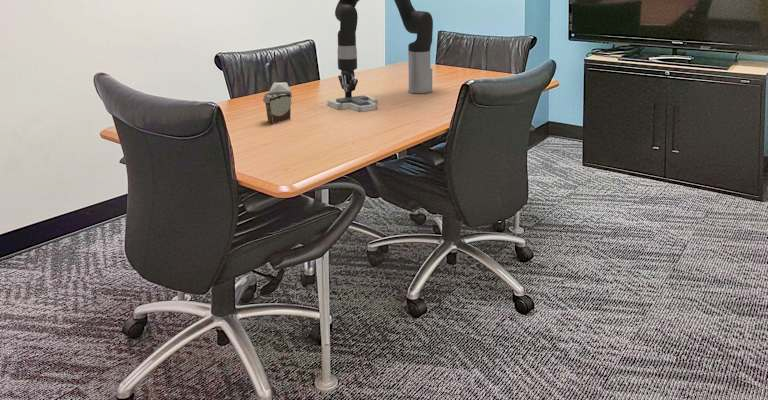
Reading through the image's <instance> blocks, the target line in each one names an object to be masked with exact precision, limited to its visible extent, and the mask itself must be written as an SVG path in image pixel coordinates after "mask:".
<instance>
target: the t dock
mask: <svg viewBox="0 0 768 400" xmlns="http://www.w3.org/2000/svg"><path fill="white" fill-rule="evenodd" d="M364 96H367V97H368V100H366V101H369V105H364V106H358V105H356V104H353V103H343V104H340V103H338V102H336V101H334V100H332V99H328V100H327V106H328V107H330V108H334V109H336V110H338V111H341V110H347V109H350V110H352V111H355V112H358V113H362V112H368V111H377V110H379V109H378V102H379V101H378V100H379V99H377V98H374V97H371V96H369V95H367V94H365V95H364Z"/></svg>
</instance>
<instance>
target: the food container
mask: <svg viewBox="0 0 768 400" xmlns="http://www.w3.org/2000/svg"><path fill="white" fill-rule="evenodd" d="M291 93H292V91H291V92H289V91H279V92H270V93H269V92H267V93H265V94H264V95H263V99H262V101H263V102H264V103H265V110H266V116H267V123H268V124H269V123H270V124H269V125H275V124H276V123H277V124H280V123H282V122H286V121H290V120H291V116H292V114H291V113H292V111H291V108H292V107H291V106H292V103H291V101H292V100H291V99H292V98H293V94H292V95H291ZM277 124H276V125H277Z"/></svg>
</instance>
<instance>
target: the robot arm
mask: <svg viewBox="0 0 768 400" xmlns="http://www.w3.org/2000/svg"><path fill="white" fill-rule="evenodd" d="M393 1H394V3H395V6H396V8H397V11H398V13H399V16H400V19H401V22H402V24H403V27H404V29H405V31H406V32H408V33H409V34H414V35H416V39H415V40H414V41H412V42H409V44H408V45H407V46H408V48H407V50H408V52H407V53H408V54H407V55H408V58H407V59H408V62H407V63H408V72H407V73H408V93H410V94H427V93H430V92H433V68H431V47H432V44H433V31H434V20H433V19H434V18H433V17H432V14H431V13H430V12H428V11H426V10H423V11H422V10H416V9H415V7H414V6H413V4H412V2H411V0H393ZM359 2H360V0H338V2H337V4H336V7H335V11H334V17H335V18H336V20H337V21H339V22H340V26H339V27H340V28H339V30H338V32H337V70H339V71H340V75H338V76H337V78H338V80H339V84H340V87H341V89H342V90H343V91H344V98H346V97H353V95H352V92H354V91H355V90H356V87H357V85H358V81H359V80H358V79H357V78H355V70H357V69H358V50H357V35H356V34H357V32H356V31H357V25H358V18H359V17H358V15H359V14H358V11H357V10H358V9H356V6H357V4H358V3H359Z"/></svg>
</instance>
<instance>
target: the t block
mask: <svg viewBox="0 0 768 400" xmlns="http://www.w3.org/2000/svg"><path fill="white" fill-rule="evenodd" d="M367 96H368V95H366V96H365V95H364V94H362V95H357V96H356V95H355V96H352V97H346V98H345V97H339V98H336V99H335V100H336V101H335V102H338V103H340V104H343V103H353V104H356V105H358V106H364V105H369V101H366V100H368V97H367Z"/></svg>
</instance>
